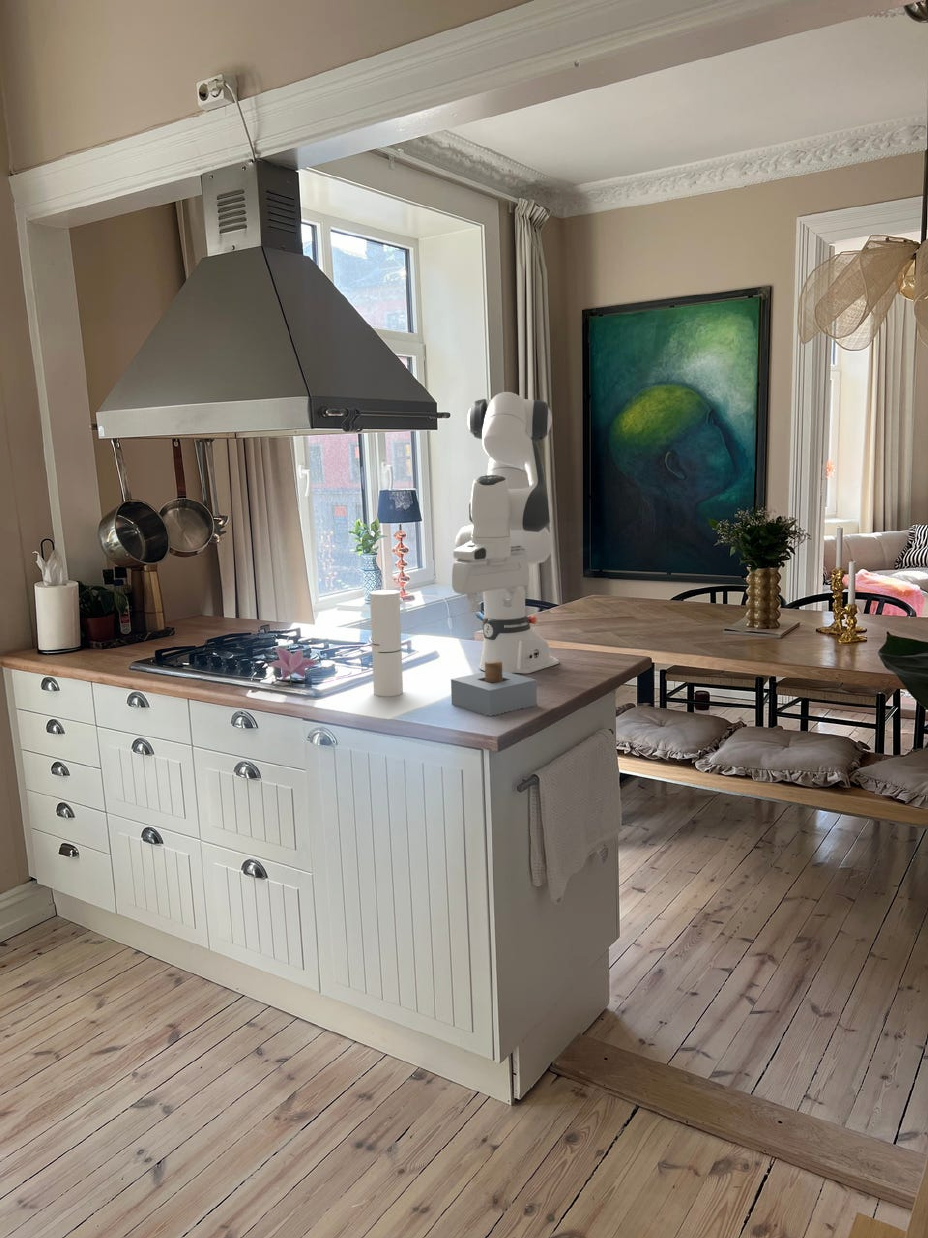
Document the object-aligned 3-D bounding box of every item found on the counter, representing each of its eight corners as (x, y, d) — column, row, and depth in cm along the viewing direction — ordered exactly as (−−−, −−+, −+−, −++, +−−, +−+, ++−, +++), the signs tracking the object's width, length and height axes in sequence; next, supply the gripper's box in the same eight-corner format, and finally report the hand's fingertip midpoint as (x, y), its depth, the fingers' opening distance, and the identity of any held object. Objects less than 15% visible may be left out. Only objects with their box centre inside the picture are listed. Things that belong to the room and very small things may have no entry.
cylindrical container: (388, 687, 233) (384, 589, 228) (409, 691, 228) (405, 591, 224) (367, 693, 227) (363, 592, 223) (388, 698, 223) (384, 595, 218)
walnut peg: (495, 701, 218) (494, 659, 216) (506, 704, 215) (505, 662, 213) (482, 704, 215) (481, 662, 214) (493, 708, 212) (492, 665, 210)
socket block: (497, 693, 225) (497, 669, 224) (536, 705, 214) (536, 679, 213) (451, 704, 216) (451, 679, 215) (490, 716, 205) (489, 690, 204)
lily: (325, 685, 240) (324, 650, 243) (295, 677, 231) (294, 641, 234) (290, 695, 246) (289, 661, 249) (259, 688, 236) (258, 652, 239)
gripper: (516, 543, 217) (517, 601, 220) (447, 551, 205) (448, 613, 207) (534, 545, 212) (535, 605, 215) (464, 553, 200) (466, 616, 202)
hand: (492, 609), depth 211 cm, fingers open, 8 cm apart
